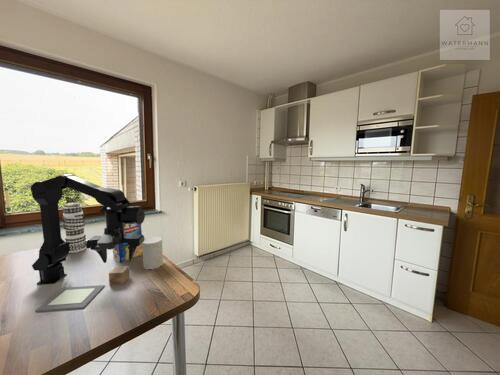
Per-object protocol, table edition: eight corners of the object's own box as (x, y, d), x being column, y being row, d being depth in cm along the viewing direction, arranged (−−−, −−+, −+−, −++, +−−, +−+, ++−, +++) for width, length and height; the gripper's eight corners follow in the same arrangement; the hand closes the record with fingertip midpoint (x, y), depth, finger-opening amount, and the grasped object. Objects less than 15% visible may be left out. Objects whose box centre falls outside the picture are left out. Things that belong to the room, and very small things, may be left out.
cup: (155, 270, 91) (154, 244, 89) (139, 268, 92) (137, 242, 91) (166, 261, 99) (165, 237, 97) (151, 260, 100) (150, 236, 99)
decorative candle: (87, 244, 118) (83, 201, 115) (88, 249, 111) (83, 203, 108) (66, 248, 112) (60, 203, 109) (65, 254, 105) (59, 206, 102)
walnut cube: (109, 285, 80) (108, 273, 79) (116, 278, 85) (115, 266, 84) (123, 284, 81) (122, 272, 80) (129, 277, 85) (128, 266, 85)
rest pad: (35, 311, 66) (35, 309, 66) (64, 288, 77) (63, 287, 77) (83, 308, 67) (83, 306, 67) (104, 286, 79) (104, 284, 79)
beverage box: (143, 254, 106) (140, 212, 103) (119, 263, 97) (116, 217, 94) (136, 251, 110) (133, 210, 107) (113, 259, 101) (109, 214, 98)
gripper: (73, 231, 71) (77, 274, 73) (132, 229, 73) (134, 271, 75) (93, 221, 81) (96, 259, 83) (143, 220, 84) (145, 257, 86)
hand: (118, 261), depth 82 cm, fingers open, 9 cm apart
